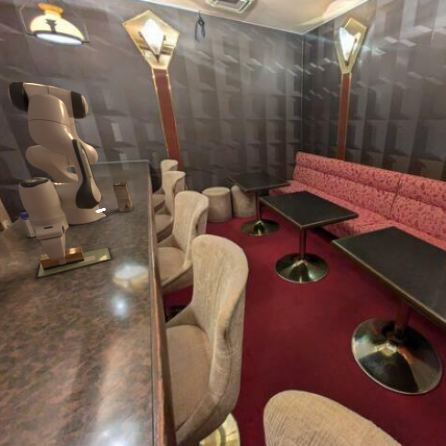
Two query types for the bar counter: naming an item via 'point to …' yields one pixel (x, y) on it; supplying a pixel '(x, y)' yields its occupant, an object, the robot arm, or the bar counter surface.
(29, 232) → the ink box
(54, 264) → the eraser
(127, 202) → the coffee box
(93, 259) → the chalk board
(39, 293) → the bar counter surface
